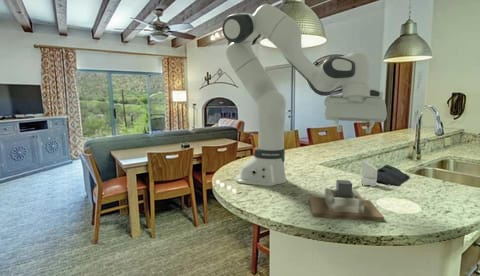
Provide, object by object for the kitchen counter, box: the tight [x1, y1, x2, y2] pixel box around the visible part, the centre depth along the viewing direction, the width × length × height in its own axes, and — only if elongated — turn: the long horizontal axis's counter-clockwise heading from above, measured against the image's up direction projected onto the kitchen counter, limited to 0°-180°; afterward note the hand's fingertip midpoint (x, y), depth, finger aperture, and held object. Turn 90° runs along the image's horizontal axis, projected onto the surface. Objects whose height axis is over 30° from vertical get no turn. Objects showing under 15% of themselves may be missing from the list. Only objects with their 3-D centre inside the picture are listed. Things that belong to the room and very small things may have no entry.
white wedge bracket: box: [360, 159, 378, 187], centre depth 114 cm, size 4×10×9 cm
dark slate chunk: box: [374, 164, 410, 187], centre depth 124 cm, size 15×22×5 cm
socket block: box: [308, 187, 385, 222], centre depth 88 cm, size 20×14×5 cm
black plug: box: [335, 179, 353, 198], centre depth 88 cm, size 4×4×8 cm
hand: (353, 132), depth 95 cm, fingers open, 8 cm apart
